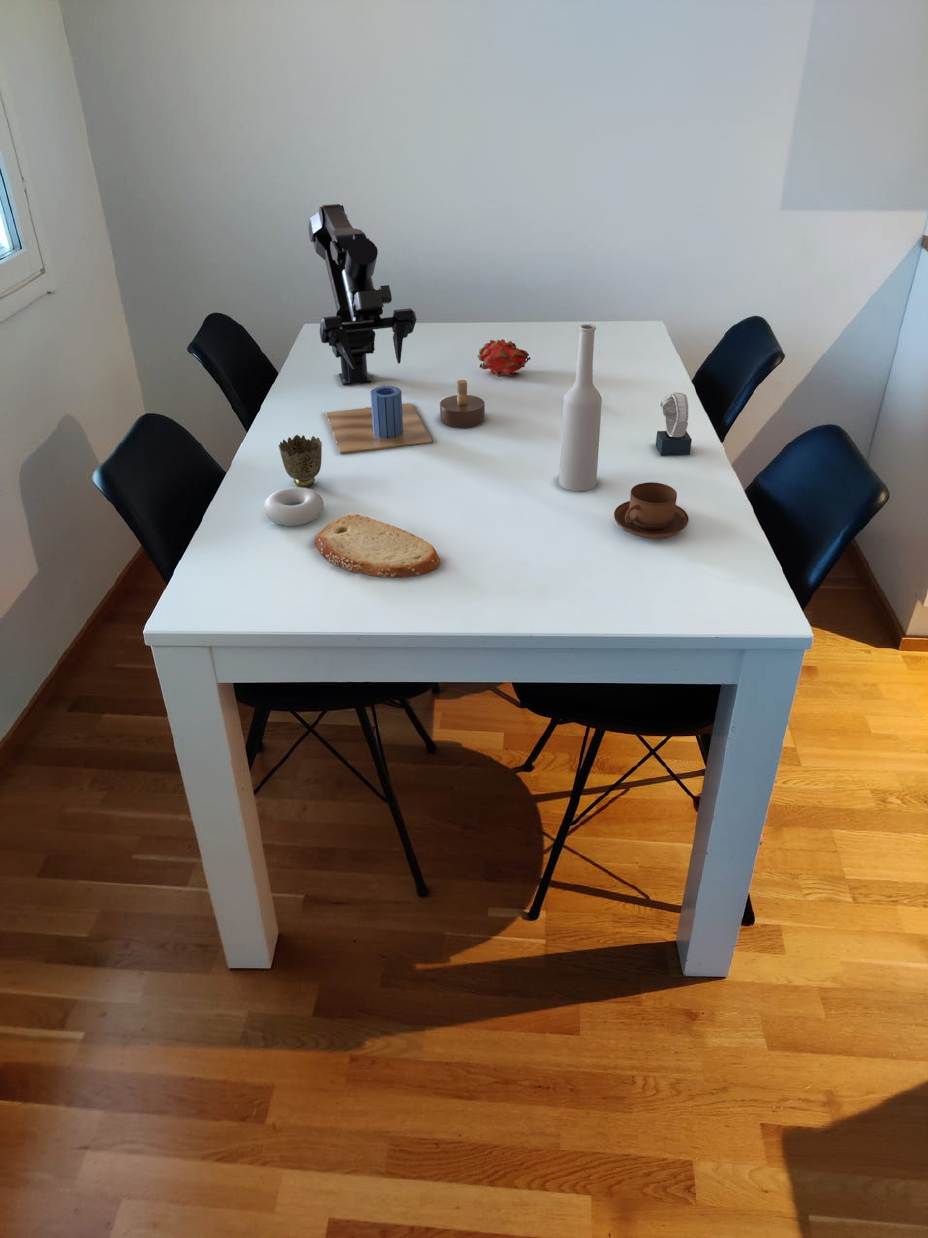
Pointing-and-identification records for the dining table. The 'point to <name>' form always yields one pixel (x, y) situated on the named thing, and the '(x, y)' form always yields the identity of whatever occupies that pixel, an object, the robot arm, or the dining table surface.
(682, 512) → the cup and saucer
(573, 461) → the bottle
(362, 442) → the wooden board
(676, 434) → the watch
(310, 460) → the cup
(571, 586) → the dining table surface
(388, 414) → the sleeve
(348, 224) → the robot arm
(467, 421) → the stand
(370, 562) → the bread slice
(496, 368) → the dragon fruit
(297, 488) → the donut
